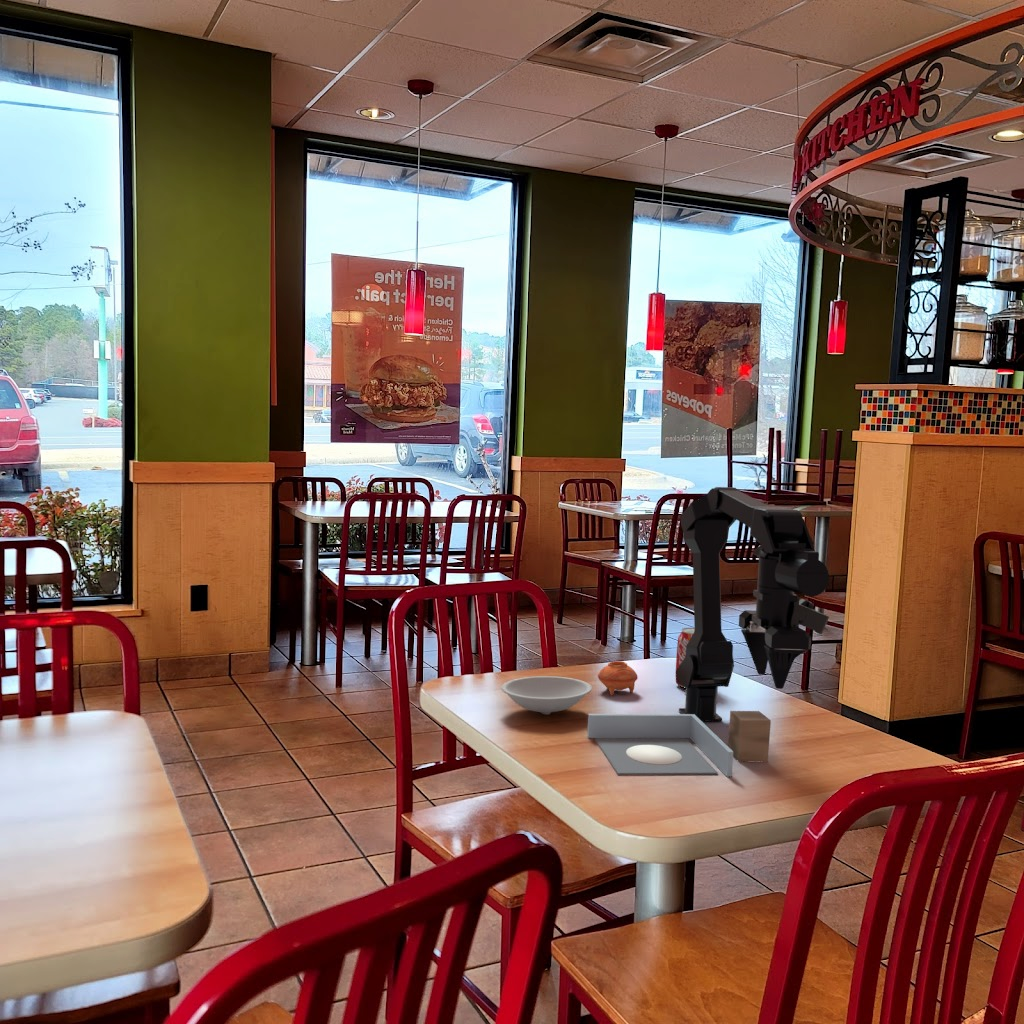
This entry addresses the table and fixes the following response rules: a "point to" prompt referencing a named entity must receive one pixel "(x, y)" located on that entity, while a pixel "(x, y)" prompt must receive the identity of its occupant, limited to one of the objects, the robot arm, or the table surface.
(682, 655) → the soda can
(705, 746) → the low wall
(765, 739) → the walnut block
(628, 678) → the pot
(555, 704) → the dish
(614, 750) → the mat
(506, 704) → the table surface
